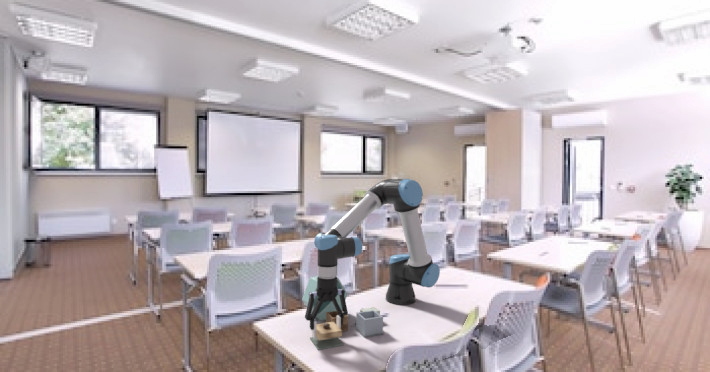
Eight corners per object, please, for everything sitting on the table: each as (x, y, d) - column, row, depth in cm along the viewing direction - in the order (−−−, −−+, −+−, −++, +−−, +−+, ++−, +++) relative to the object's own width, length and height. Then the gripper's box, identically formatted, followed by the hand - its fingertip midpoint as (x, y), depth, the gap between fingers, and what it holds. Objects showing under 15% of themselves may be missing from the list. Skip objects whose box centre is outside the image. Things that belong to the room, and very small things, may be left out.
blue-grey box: (373, 326, 153) (373, 310, 153) (382, 334, 146) (382, 316, 146) (356, 329, 150) (356, 312, 150) (364, 337, 143) (364, 319, 142)
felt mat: (334, 334, 145) (334, 333, 145) (343, 345, 136) (343, 344, 136) (309, 338, 141) (309, 337, 141) (317, 350, 132) (317, 349, 132)
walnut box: (341, 324, 155) (341, 310, 155) (347, 330, 149) (348, 315, 149) (325, 326, 152) (326, 312, 152) (331, 333, 146) (331, 318, 146)
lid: (333, 327, 144) (333, 318, 144) (341, 336, 136) (342, 327, 136) (311, 330, 141) (311, 321, 140) (318, 340, 132) (318, 331, 132)
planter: (326, 329, 161) (304, 295, 153) (317, 323, 167) (295, 290, 159) (352, 302, 169) (332, 268, 162) (343, 297, 175) (323, 264, 168)
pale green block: (373, 318, 163) (374, 307, 163) (379, 322, 158) (380, 310, 158) (359, 320, 159) (360, 309, 159) (365, 325, 155) (365, 313, 155)
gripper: (349, 271, 146) (349, 327, 146) (296, 276, 137) (295, 336, 137) (357, 276, 139) (356, 334, 139) (301, 281, 130) (301, 344, 130)
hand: (326, 335), depth 138 cm, fingers closed on lid, 9 cm apart
